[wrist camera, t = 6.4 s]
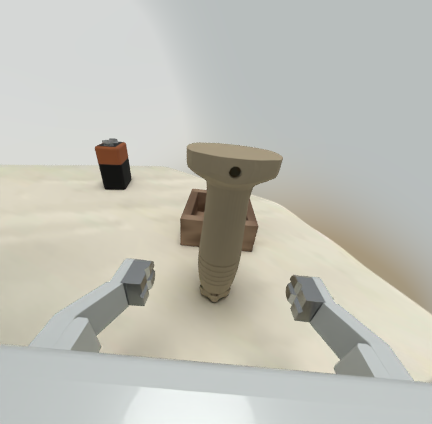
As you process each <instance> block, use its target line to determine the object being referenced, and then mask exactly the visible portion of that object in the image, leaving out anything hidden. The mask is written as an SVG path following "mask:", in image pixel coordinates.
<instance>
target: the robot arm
mask: <svg viewBox="0 0 432 424" xmlns="http://www.w3.org/2000/svg"><path fill="white" fill-rule="evenodd" d="M153 268H154V262H153V261H146V260H138V259H129V258H127V259H125V260H124V261H123V263H122V264H121V266H120V267H119V269H118V270H117V272H116V273H115V275H114V276H113V278H112V279H111V281H110V282H106V283H104V284H103V285H101V286H99V287H98V288H96V289H94V290H93V291H91V292H90V293H88V294H86V295H85V296H83V297H82V298H80V299H78V300H77V301H75V302H73V303H72V304H70V305H69V306H67V307H65V308H64V309H62V310H61V311H59V312H57V313H56V314H55V315H54V316H53V317H52V318H51V319H50V321H49V322H48V323H47V324H46V325H45V327H44V328H43V329H42V330H41V331H40V332H39V334H38V335H37V336H36V337H35V338H34V340H33V341H32V342H31V343H30V344H29V346H19V345H8V344H0V424H432V383H431V382H420V381H414V380H413V379H412V377H411V376H410V374H409V373H408V371H407V370H406V369H405V367H404V366H403V364H402V363H401V362H400V360H399V359H398V357H397V356H396V355H395V353H394V352H393V350H392V349H391V348H390V346H389V345H388V344H387V343H385V342H384V341H383V340H382V339H381V338H379V337H378V336H377V335H376V334H374V333H373V332H372V331H371V330H369V329H368V328H367V327H366V326H365V325H363V324H362V323H361V322H360V321H358V320H357V319H356V318H355V317H354V316H352V315H351V314H350V313H349V312H347V311H346V310H345V309H344V308H343V307H341V306H340V305H339V304H336V303H335V302H334V300H333V298H332V297H331V295H330V293H329V291H328V290H327V288H326V286H325V285H324V283H323V281H322V280H321V279H320V278H319V277H309V276H298V275H293V276H291V278H290V281H291V282H290V283H289V284H288V285H287V287H286V297H287V300H288V302H289V303H290V304H291V308H290V309H291V312H292V315H293V317H294V320H295V321H303V322H310V324H311V325H312V327H313V328H314V329H315V330H316V331H317V333H318V334H319V335H320V336H321V337H322V339H323V340H324V341H325V342H326V343H327V344H328V346H329V347H330V348H331V349H332V350H333V352H334V353H335V354H336V355H337V356H338V358H339V359H340V361H339V362H338V363H337V364H336V365H335V366H334V370H335V373H336V374H331V373H320V372H309V371H298V370H287V369H276V368H265V367H253V366H242V365H231V364H220V363H209V362H198V361H187V360H176V359H164V358H153V357H142V356H131V355H120V354H108V353H99V351H100V349H101V344H100V342H99V340H98V338H97V335H98V334H99V333H100V332H101V331H102V330H103V329H104V328H105V327H107V326H108V325H109V324H110V323H111V322H112V321H113V320H114V319H115V318H116V317H117V316H118V315H120V314H121V313H122V312H123V311H124V310H125V309H126V308H127V307H128V305H134V306H145V303H146V301H147V299H148V296H149V291H148V290H150V289H151V288H152V286H153V284H154V280H155V271H154V270H153Z"/></svg>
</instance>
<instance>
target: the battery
mask: <svg viewBox="0 0 432 424" xmlns="http://www.w3.org/2000/svg"><path fill="white" fill-rule="evenodd" d="M102 142H103V143H102V144H100V145H98V146H96V147H95V151H96V155H97V159H98V163H99V167H100V171H101V176H102V180H103V184H104V188H105V189H125V188H126V187H127V185H128V184H129V182H130V180H131V173H130V166H129V160H128V154H127V148H126V143H124V142H118V141H117V139H109V140H103V141H102Z"/></svg>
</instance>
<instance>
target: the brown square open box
mask: <svg viewBox="0 0 432 424" xmlns="http://www.w3.org/2000/svg"><path fill="white" fill-rule="evenodd" d="M206 195H207V190H200V189H192V191H191V194H190V196H189V199H188V201H187V204H186V206H185V209H184V211H183V214H182V216H181V219H180V223H181V245H187V246H198V247H199V246H200V239H201V232H202V226H203V219H204V211H205V203H206ZM257 230H258V224H257V221H256V218H255V214H254V211H253V208H252V205H251V202H250V198H249V204H248V210H247V216H246V222H245V229H244V236H243V243H242V250H241V251H250V252H252V248H253V245H254V241H255V237H256V233H257Z"/></svg>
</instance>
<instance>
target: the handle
mask: <svg viewBox="0 0 432 424" xmlns="http://www.w3.org/2000/svg"><path fill="white" fill-rule="evenodd" d="M282 160H283V157H282V156H281V155H279V154H277V153H275V152H272V151H269V150H264V149H259V148H253V147H247V146H240V145H230V144H220V143H192V144H189V145H188V146H187V165H188V167H189V168H190V169H191V170H192V171H193V172H195V173H196V174H197V175H199V176H201V177H202V178H204V179H205V180H206V181H207V195H206V203H205V211H204V219H203V226H202V232H201V239H200V246H199V257H198V268H199V278H200V282H201V285H200V291H201V294H202V295H203V296H207V297H208V298H209V299H210V300H211V301H212V302H217V301H218V300H219V299H220V298H222V297H227V295H228V294H229V291H230V289H231V288H230V286H231V284H232V282H233V280H234V278H235V275H236V272H237V269H238V265H239V261H240V256H241V250H242V243H243V236H244V229H245V222H246V216H247V210H248V204H249V198H250V195H251V192H252V189H253V187H254V186H255V185H258V184H260V183H263V182H266V181H269V180H272V179H274V178H276V176H277V175H278V173H279V170H280V167H281V163H282Z"/></svg>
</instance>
